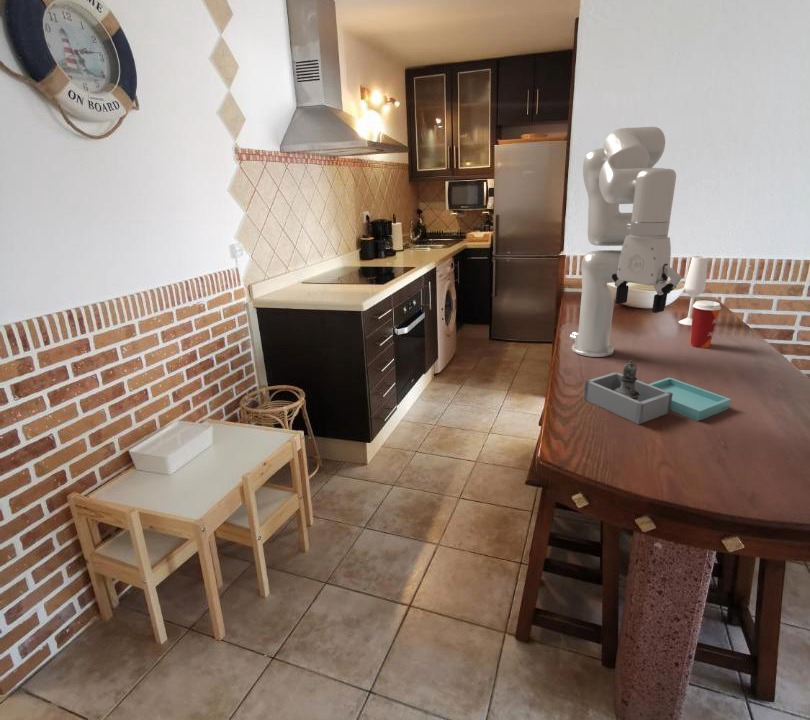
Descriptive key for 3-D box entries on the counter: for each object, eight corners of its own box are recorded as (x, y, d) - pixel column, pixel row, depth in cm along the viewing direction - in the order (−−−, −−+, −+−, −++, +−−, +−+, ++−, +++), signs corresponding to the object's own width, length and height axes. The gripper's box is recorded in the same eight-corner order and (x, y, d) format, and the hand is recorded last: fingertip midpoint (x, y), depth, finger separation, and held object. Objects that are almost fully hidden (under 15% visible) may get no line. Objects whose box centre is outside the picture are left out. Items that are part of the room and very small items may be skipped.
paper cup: (717, 349, 156) (725, 306, 151) (690, 348, 158) (698, 305, 153) (708, 341, 163) (716, 300, 158) (682, 340, 165) (689, 299, 160)
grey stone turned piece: (607, 401, 125) (613, 356, 120) (630, 399, 125) (636, 355, 121) (619, 411, 119) (625, 365, 115) (643, 410, 119) (649, 363, 115)
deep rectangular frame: (583, 399, 126) (585, 381, 124) (613, 389, 131) (616, 371, 129) (638, 424, 113) (641, 404, 111) (669, 412, 118) (672, 393, 116)
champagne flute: (681, 319, 188) (692, 255, 179) (701, 322, 183) (713, 256, 175) (675, 323, 183) (686, 257, 175) (695, 326, 179) (707, 259, 170)
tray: (637, 396, 127) (638, 387, 126) (667, 385, 132) (669, 377, 131) (697, 421, 113) (699, 411, 113) (729, 408, 119) (731, 399, 118)
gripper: (604, 228, 113) (596, 302, 119) (675, 234, 98) (662, 318, 104) (626, 226, 116) (618, 298, 122) (698, 231, 102) (685, 312, 107)
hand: (638, 307), depth 113 cm, fingers open, 9 cm apart
